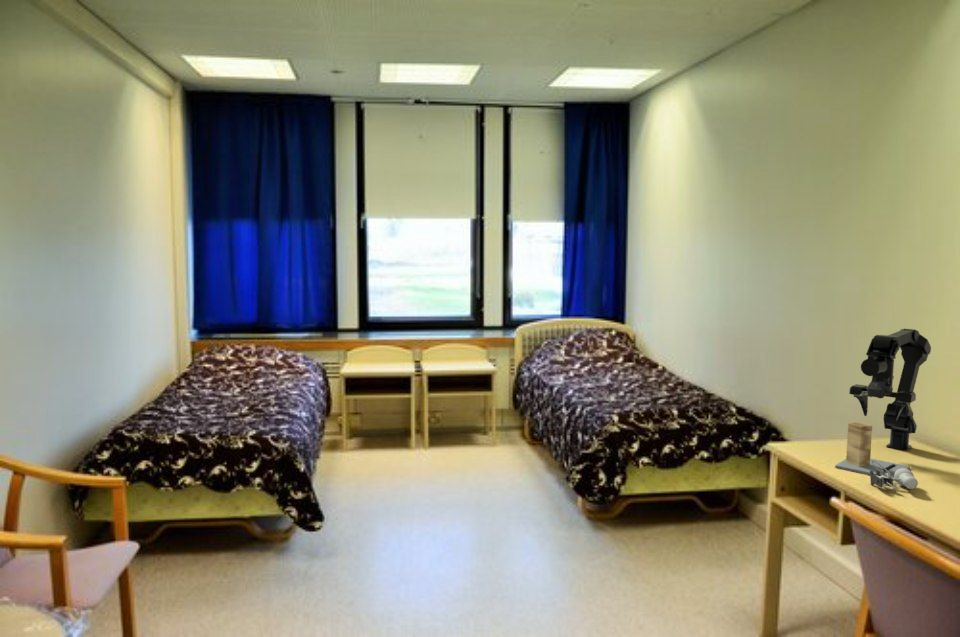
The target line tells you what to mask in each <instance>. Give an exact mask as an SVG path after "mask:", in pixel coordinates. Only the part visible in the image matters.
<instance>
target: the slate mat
mask: <svg viewBox="0 0 960 637" xmlns="http://www.w3.org/2000/svg"><path fill="white" fill-rule="evenodd" d="M872 460H875V461H876V462H878V463H879V464H880V465H882V466H883V467H884V468H886V467H888V466H890V465H892V464H897V465H895V467H894V468H892V469H890V470H888V471H889V473H890V475H889V477H890V478H894V474H895V472H896V471H897V470H898V469H901V468H905V469H908V470H910V468H911V466H910V465H904V464H900V463H896V462H890V461H884V460H880V459H877V458H876V459H875V458H871V457H870V465H867V466H860V467H858V466H855V465H852V464H850V463H847V462H846V458H845V459H843V460H842V461H840V462H838V463H836V464H835V465H834V469H839V468H840V469H839V470H843V469H845V470H844V471H848V470H851V471H850V472H853V471H855V472H854V473H857V472H859V473H858V474H862V473H863V475H866V474H868V476H870V471H873V474H874V475H876V470H877V469H879V470H881V471H882V469H884V468H882V467H881V466H880V465H878V464H877V463H876V462H874V461H873V463H874V465H875V466H876V467H877V469H876V467H875V466H874V465H873V463H872ZM879 470H878V471H879ZM881 471H880V474H882V475H884V476H886V475H885V474H886V473H888V472H887V471H886V472H884V471H883V472H881ZM889 473H888V474H889Z"/></svg>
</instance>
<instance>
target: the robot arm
mask: <svg viewBox="0 0 960 637" xmlns="http://www.w3.org/2000/svg"><path fill="white" fill-rule="evenodd" d="M900 350H901V351H900ZM931 350H932V347H931V343H930V342H929V340H928V339H927V338H926V337H925V336H923V335H921V333H920V332H919V331H918V330H917V329H912V328H901V329H900V330H897V331H896V332H894V333H891V334H888V335H886V334H876V335H874V336H873V337H872V339H871V340H870V344H869V346H868V348H867V352H866V353H865V355H866V356H867V358H866V359H864V360H863V361H862V362H861V364H860V370H861V372H862V373H863V374H864V375H865V376H867V377H871V381H870V382H869V383H868V385H864V384H857V383H856V384H854V385H851V386H850V388H849V395H851V396H852V395H853V397H854V398H856V399H857V400H858V402H859V404H860V406H861V409H862V410H861V411H862V412H863V415H864V417H867V415H868V407H869V406H868V405H869V404H868V403H869V402H868V401H869V398H877V399H884V397H886V398H887V397H888V398H894V401H892V403H888V404H887V406H886V409H885V412H884V414H883V425H884V426H883V428H884V429H885V430H886V429H887V430H890V432H889V433H890V434H889V436H890V437H889V443H887V444H886V445H885V447H886V448H890V449H896V450H901V451H908V450H909V449H911V448H913V446H912V445H911V444H910V445H909V442H910V435H912V434H916V431H917V426H918V425H917V423H916V421H915V418H914V411H913V409H912V407H911V403H913V402H915V401H916V398H917V395H916V393H915V387H916V386H915V385H916V382H917V378H918V374H919V371H920V366H922V365H923V364H924V363H925V362H926V361H927V360H928V358H929V355H930V354H931V352H932V351H931ZM898 351H900V352H901V353H900V354H901V357H902V360H903V361H904V362H903V366H902V371H901V375H900V379H899V383H898V386H897V389H896V390H897V391H896V392H895V391H894V387H893V381H894V377H895V376H894V367H895V365H894V364H895V359H896V358H897V357H896V355H897V354H898Z"/></svg>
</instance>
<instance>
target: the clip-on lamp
mask: <svg viewBox="0 0 960 637" xmlns="http://www.w3.org/2000/svg"><path fill="white" fill-rule="evenodd" d="M873 461H874V462H876V461H875V460H872V463H873ZM876 463H877V464H878V465H880V464H879V463H878V462H876ZM897 464H898V463H896V464H892V465H890V466H888V467H886V468H884V467H883V466H882V465H880V466H881V467H882V468H884V469H882V471H881V470H879V469H877V467H876V466H875V465H874V463H873V465H874V466H875V467H876V469H877V470H876V475H874V474H873V471H870V475H869V476H870V477H869V478H870V479H869V480H870V485H871V486H874V485H876V486H877V487H878V488H883V487H890V488H893V489H894V490H895V491H899V488H898V486H897V485H896V484H895V483H894V482H896V483H897V484H898V485H899V486H903V487H906V488H908V489H911V490H913V489H916V488H917V487H918V485H919V482H918V480H917V479H916V477H915V475H914V473H913V472H912V471H911V470H910V469H909V470H908V469H905V468H901V469H898V470H897V471H896V472H895V474H894V478H890V477H889V475H890V473H889V471H888V470H890V469H892V468H894V467H895V465H897ZM878 470H879V471H878ZM880 471H881V472H883V471H884V472H886V471H887V472H888V473H889V474H888V473H886V474H885V475H886V476H884V475H882V474H880Z"/></svg>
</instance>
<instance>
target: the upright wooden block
mask: <svg viewBox="0 0 960 637" xmlns="http://www.w3.org/2000/svg"><path fill="white" fill-rule="evenodd" d="M847 424H848V425H847V442H846V457H845V459H846V462H847V463H850V464H852V465H855V466H858V467H860V466H867V465H870V458H871V452H872V438H873V437H872V436H873V425H872V424H868V423H865V422H860V421H856V422H850V423H849V422H848V423H847Z"/></svg>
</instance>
